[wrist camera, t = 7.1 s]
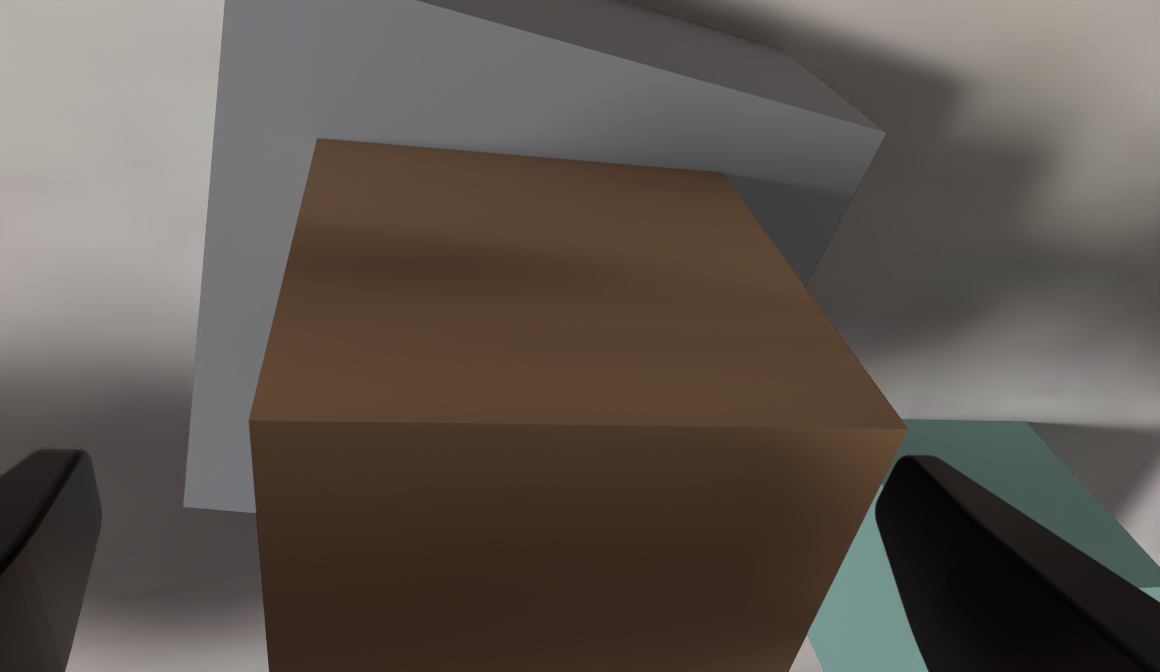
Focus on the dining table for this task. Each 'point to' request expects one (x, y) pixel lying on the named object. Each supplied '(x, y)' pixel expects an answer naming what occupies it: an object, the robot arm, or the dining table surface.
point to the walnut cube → (549, 423)
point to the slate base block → (483, 143)
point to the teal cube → (1004, 467)
